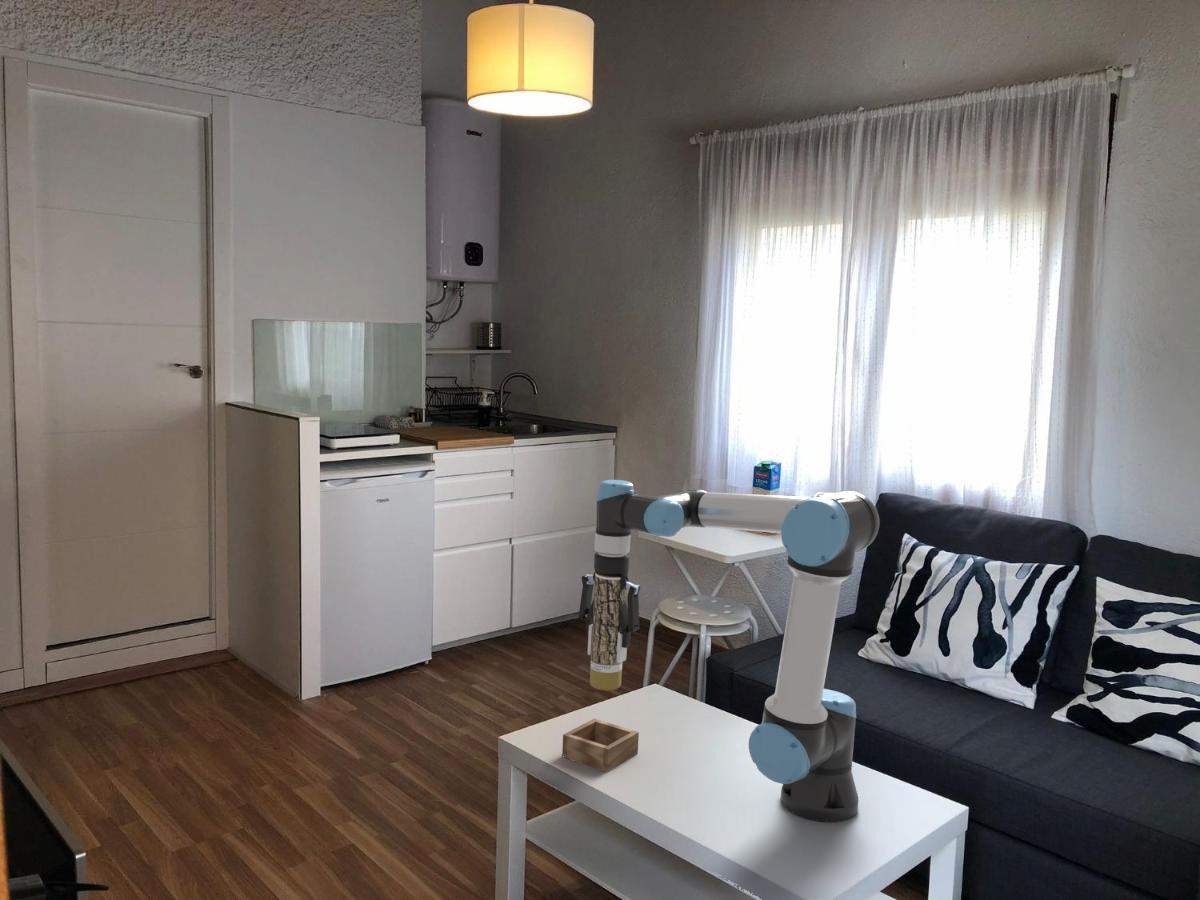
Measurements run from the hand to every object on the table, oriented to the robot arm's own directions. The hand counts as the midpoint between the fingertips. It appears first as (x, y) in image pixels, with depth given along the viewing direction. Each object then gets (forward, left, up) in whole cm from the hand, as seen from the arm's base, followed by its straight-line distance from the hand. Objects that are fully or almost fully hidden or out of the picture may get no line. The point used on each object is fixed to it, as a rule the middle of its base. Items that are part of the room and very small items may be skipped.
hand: (606, 656), depth 217 cm
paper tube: (0, 0, -7) cm, 7 cm away
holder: (+1, 0, -23) cm, 23 cm away
